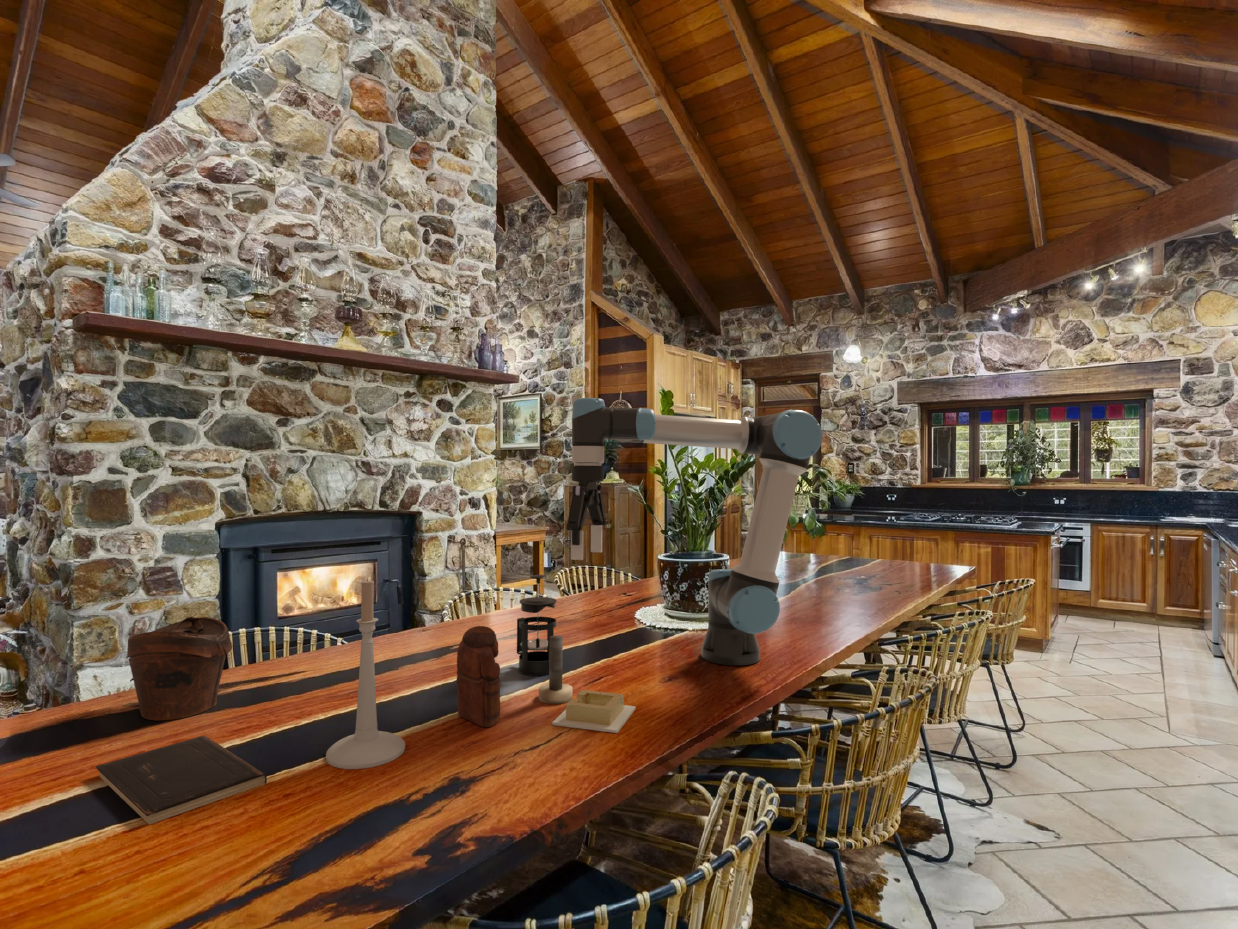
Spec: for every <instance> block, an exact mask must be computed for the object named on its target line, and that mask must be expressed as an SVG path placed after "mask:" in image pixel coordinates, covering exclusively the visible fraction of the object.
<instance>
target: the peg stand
mask: <svg viewBox="0 0 1238 929" xmlns="http://www.w3.org/2000/svg"><path fill="white" fill-rule="evenodd" d="M563 639H564V638H563V636H562V635H554V636H550V643H549V674H548V675H549V676H548V679H549V680H548V683H547V684H543V685H541V686H539V687H538V700H539V701H540V702H541V703H545V704H550V705H557V704H558V705H560V704H565V703H568V702H569V701H570V700H571V699H573V690H574V689H573V688H574V687H573V686H572V685H570V684H568V683H563V659H564V658H563V657H564V656H563V650H564V647H563V646H564V644H563V641H564V640H563Z"/></svg>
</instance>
